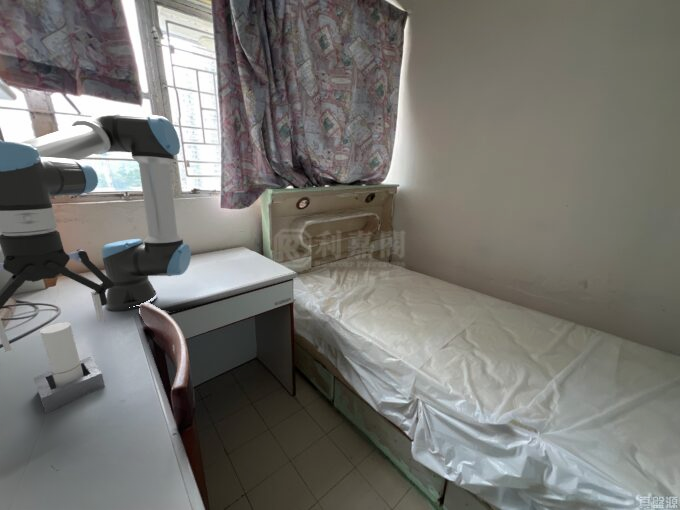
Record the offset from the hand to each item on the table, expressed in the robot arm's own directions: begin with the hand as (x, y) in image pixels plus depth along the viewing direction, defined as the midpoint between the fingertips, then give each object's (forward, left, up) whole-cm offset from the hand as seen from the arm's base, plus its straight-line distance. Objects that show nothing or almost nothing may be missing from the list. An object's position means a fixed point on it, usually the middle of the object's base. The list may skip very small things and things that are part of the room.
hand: (58, 332), depth 55 cm
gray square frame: (0, 0, -14) cm, 14 cm away
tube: (0, 0, -14) cm, 14 cm away
